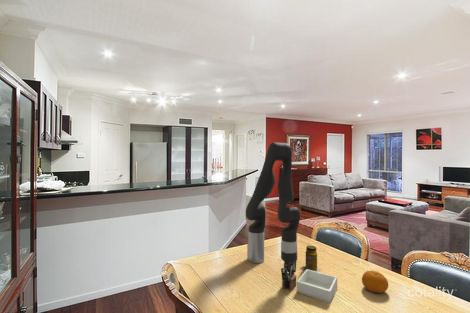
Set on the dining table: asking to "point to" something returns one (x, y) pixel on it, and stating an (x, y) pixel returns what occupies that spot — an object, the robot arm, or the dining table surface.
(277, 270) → the dining table surface
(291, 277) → the walnut cube
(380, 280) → the fruit
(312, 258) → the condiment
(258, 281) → the dining table surface
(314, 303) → the dining table surface
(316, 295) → the tub
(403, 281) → the dining table surface
